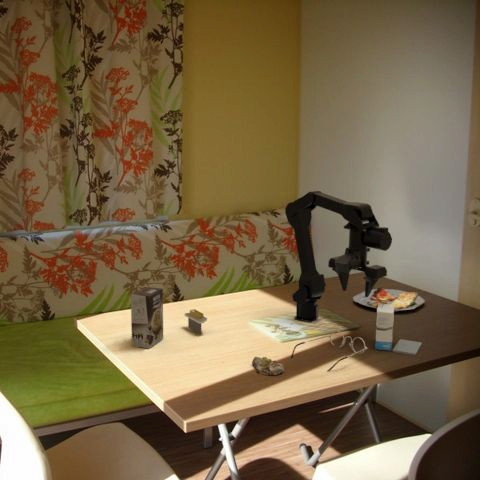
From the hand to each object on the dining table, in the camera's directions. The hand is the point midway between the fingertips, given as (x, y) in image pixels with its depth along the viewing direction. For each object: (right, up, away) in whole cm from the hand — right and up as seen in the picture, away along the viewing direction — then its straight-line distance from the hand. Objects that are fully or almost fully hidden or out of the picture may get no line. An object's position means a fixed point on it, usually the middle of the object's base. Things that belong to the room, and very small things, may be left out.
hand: (355, 293), depth 217 cm
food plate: (+18, -7, +34) cm, 39 cm away
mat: (+14, -15, -10) cm, 23 cm away
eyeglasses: (-10, -17, -16) cm, 26 cm away
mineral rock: (-28, -19, -26) cm, 43 cm away
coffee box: (-63, -14, -7) cm, 65 cm away
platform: (-49, -13, +4) cm, 51 cm away
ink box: (+7, -15, -7) cm, 18 cm away
